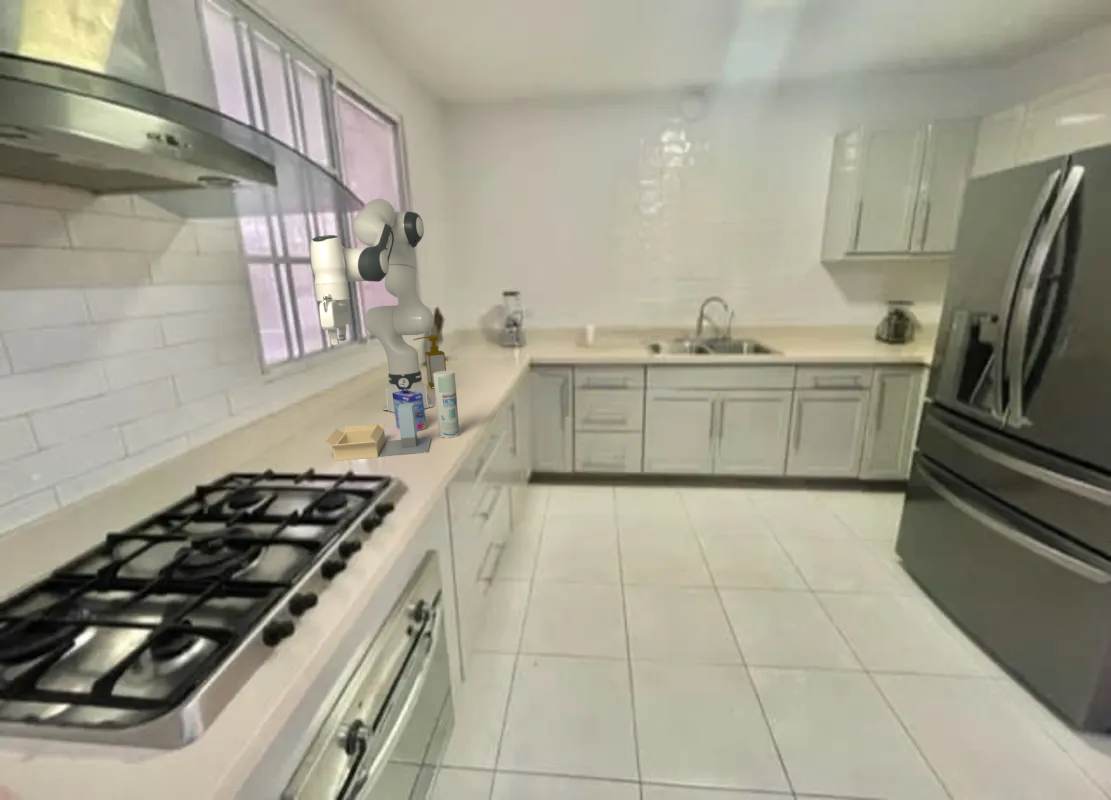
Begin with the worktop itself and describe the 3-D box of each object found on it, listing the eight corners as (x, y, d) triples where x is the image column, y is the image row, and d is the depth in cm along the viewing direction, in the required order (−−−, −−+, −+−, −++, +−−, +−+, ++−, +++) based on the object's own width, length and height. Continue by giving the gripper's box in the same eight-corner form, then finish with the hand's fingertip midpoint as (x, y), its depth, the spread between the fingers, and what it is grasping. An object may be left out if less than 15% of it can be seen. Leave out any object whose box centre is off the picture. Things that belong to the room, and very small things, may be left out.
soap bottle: (416, 387, 247) (410, 335, 241) (443, 383, 252) (439, 333, 246) (419, 390, 240) (414, 337, 235) (447, 386, 245) (442, 334, 240)
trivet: (387, 442, 165) (387, 440, 164) (431, 439, 166) (430, 437, 166) (380, 456, 152) (380, 454, 152) (427, 452, 154) (427, 450, 154)
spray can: (444, 439, 165) (438, 375, 161) (435, 435, 170) (429, 372, 166) (463, 435, 169) (458, 372, 164) (454, 431, 174) (449, 369, 169)
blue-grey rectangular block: (404, 443, 161) (399, 404, 159) (417, 441, 162) (413, 403, 159) (401, 448, 157) (397, 408, 154) (416, 447, 157) (411, 407, 154)
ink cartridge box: (395, 428, 180) (390, 385, 177) (409, 424, 185) (404, 382, 181) (413, 432, 174) (408, 388, 171) (427, 428, 178) (422, 385, 175)
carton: (340, 444, 165) (338, 425, 164) (386, 440, 167) (384, 421, 166) (325, 464, 147) (321, 443, 146) (376, 459, 149) (374, 439, 148)
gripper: (335, 294, 145) (342, 346, 148) (351, 292, 164) (357, 338, 168) (310, 296, 144) (318, 347, 147) (329, 293, 164) (336, 339, 167)
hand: (339, 342), depth 158 cm, fingers open, 8 cm apart
